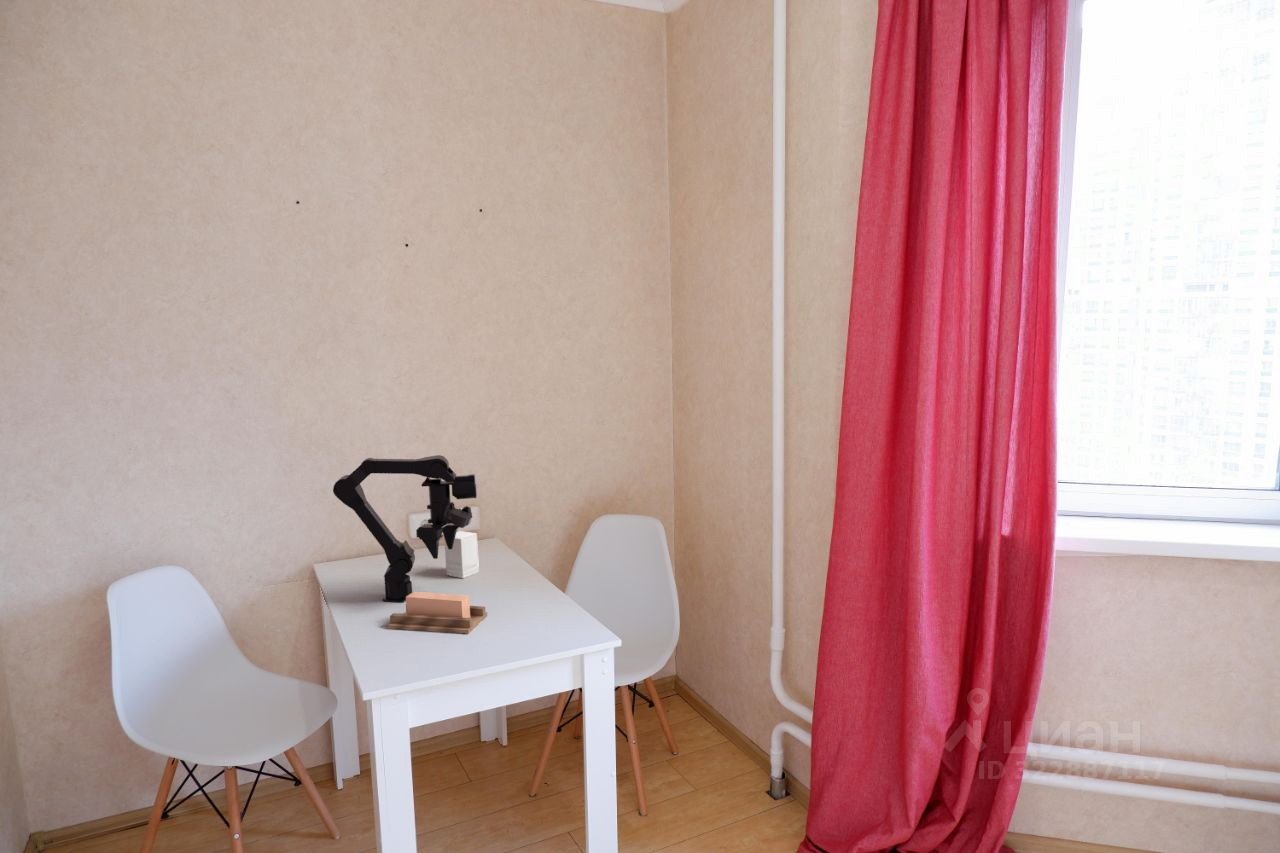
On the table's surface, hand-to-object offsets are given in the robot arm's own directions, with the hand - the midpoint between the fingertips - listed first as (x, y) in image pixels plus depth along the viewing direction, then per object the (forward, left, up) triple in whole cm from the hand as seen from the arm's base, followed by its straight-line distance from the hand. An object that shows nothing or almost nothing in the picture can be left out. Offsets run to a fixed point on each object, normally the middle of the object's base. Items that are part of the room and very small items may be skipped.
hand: (443, 553), depth 215 cm
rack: (+8, -20, -12) cm, 25 cm away
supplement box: (-3, +18, -12) cm, 22 cm away
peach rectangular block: (+8, -20, -11) cm, 24 cm away
